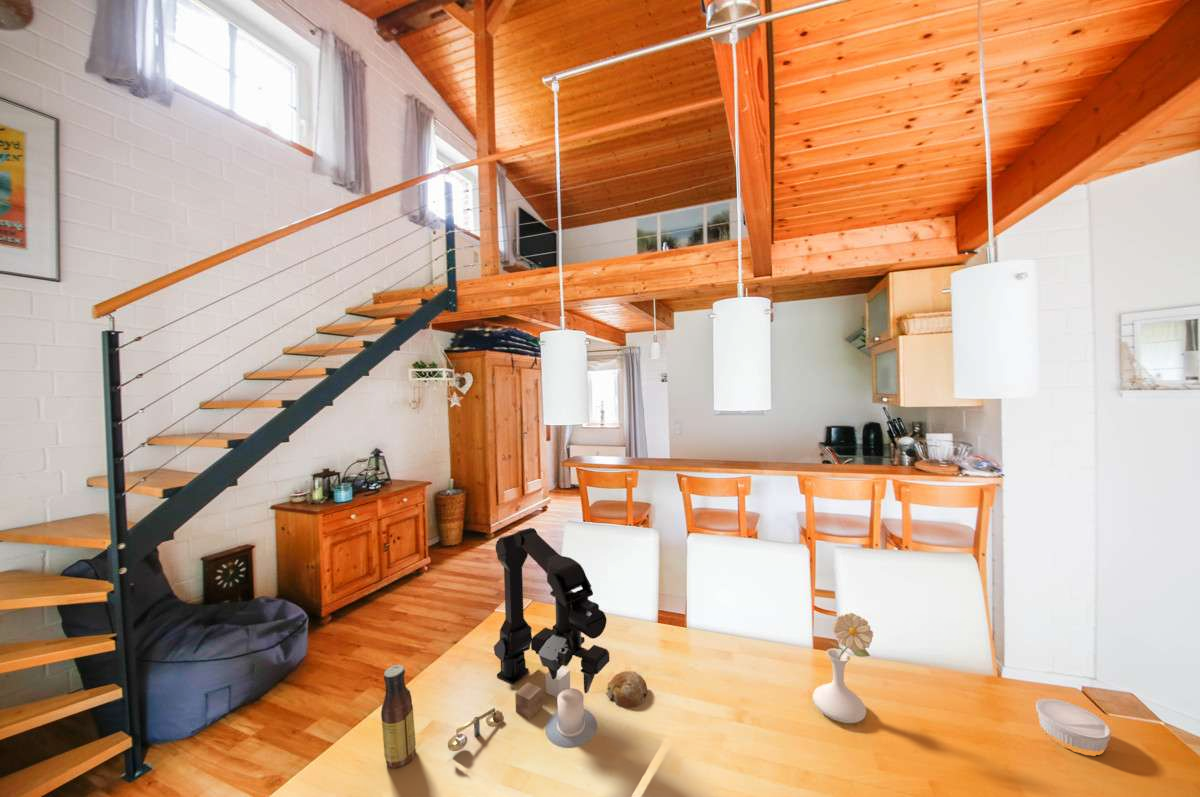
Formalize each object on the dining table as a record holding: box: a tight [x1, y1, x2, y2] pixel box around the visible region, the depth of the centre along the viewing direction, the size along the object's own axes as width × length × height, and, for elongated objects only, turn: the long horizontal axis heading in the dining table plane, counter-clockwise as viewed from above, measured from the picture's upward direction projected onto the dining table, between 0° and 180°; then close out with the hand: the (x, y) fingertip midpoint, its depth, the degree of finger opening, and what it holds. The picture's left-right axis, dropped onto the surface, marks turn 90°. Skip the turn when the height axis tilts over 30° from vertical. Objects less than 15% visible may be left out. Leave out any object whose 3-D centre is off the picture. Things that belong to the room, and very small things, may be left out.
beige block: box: [545, 666, 571, 698], centre depth 113 cm, size 4×4×6 cm
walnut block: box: [514, 681, 543, 720], centre depth 107 cm, size 4×4×6 cm
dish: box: [544, 708, 598, 749], centre depth 101 cm, size 12×12×1 cm
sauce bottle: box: [380, 664, 417, 768], centre depth 95 cm, size 6×6×20 cm
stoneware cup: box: [556, 688, 585, 737], centre depth 101 cm, size 6×6×7 cm
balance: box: [447, 707, 504, 752], centre depth 99 cm, size 15×4×6 cm, turn 148°
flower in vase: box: [811, 612, 874, 724], centre depth 104 cm, size 13×11×25 cm
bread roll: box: [605, 670, 648, 709], centre depth 111 cm, size 10×10×8 cm
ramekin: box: [1035, 698, 1112, 751], centre depth 95 cm, size 11×11×5 cm
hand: (570, 685), depth 101 cm, fingers open, 9 cm apart
